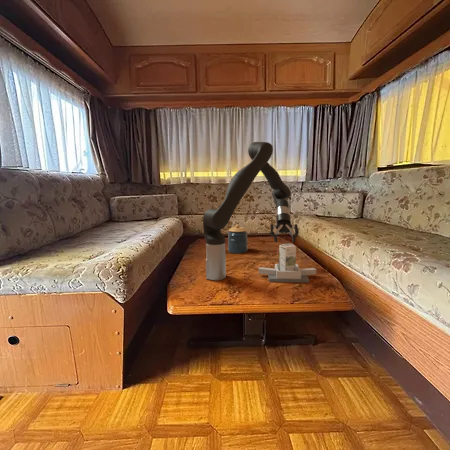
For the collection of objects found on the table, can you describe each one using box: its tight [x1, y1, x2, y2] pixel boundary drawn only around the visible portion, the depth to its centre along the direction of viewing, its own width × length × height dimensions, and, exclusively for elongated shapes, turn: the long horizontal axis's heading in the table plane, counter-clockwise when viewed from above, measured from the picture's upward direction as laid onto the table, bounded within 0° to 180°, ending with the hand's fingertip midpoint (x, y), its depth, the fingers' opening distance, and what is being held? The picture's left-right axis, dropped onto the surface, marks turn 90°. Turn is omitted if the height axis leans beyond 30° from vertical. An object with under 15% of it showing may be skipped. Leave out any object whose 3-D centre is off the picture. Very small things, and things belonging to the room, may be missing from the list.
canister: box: [227, 223, 249, 254], centre depth 181 cm, size 13×13×18 cm
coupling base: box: [258, 263, 317, 284], centre depth 133 cm, size 27×12×5 cm, turn 85°
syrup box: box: [278, 243, 297, 271], centre depth 133 cm, size 6×6×14 cm
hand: (285, 242), depth 143 cm, fingers open, 8 cm apart
